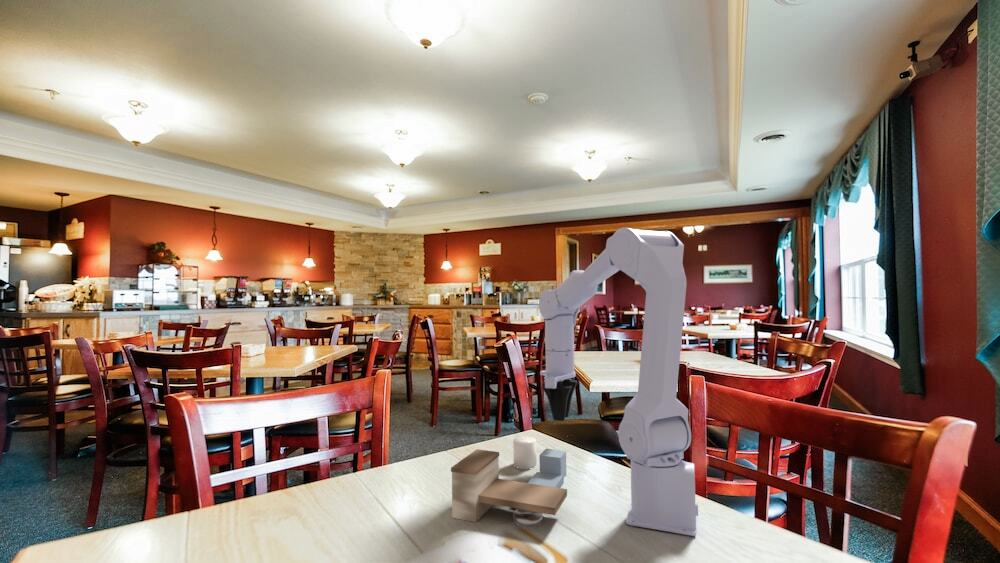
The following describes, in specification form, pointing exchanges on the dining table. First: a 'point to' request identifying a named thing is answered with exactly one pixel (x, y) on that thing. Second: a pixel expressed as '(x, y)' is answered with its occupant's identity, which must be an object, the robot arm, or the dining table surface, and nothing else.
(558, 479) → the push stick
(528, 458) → the white rounded cylinder
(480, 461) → the plinth shelf
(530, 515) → the tape roll
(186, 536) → the dining table surface
